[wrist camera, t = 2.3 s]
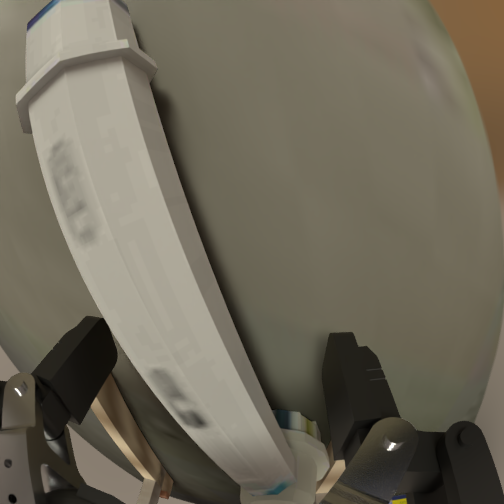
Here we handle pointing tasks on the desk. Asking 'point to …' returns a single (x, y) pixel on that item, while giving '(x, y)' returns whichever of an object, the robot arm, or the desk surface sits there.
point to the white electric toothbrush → (151, 247)
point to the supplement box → (399, 499)
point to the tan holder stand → (145, 461)
